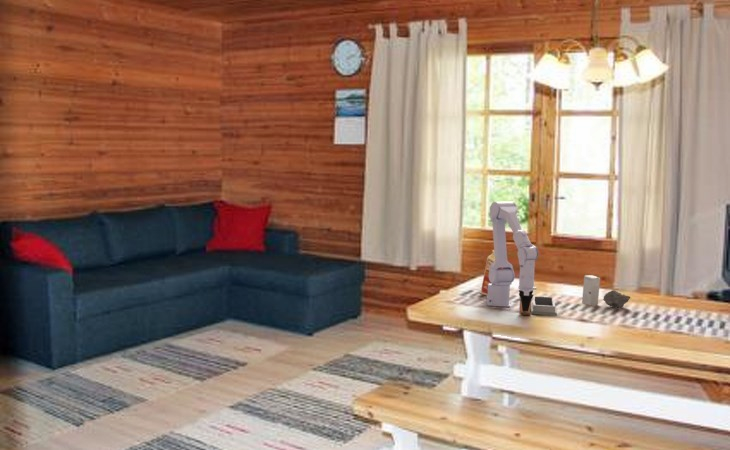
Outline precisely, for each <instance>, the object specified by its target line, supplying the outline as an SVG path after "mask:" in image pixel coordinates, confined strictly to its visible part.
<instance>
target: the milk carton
mask: <svg viewBox="0 0 730 450" xmlns="http://www.w3.org/2000/svg"><path fill="white" fill-rule="evenodd" d="M494 262H495V254H494V249H492V253H491V254H490V255H488V256H487V258H486V263H485V267H484V268H485V269H484V274H483V277H482V278H483V279H482V282H481V288H480V294H482V295H484V296H486V297H487V296H488V284H491V282H490V280H489V267H490V266H491V265H492V264H493V263H494ZM497 269H505V268H504V267H501V268H497Z"/></svg>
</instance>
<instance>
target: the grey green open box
mask: <svg viewBox="0 0 730 450" xmlns="http://www.w3.org/2000/svg"><path fill="white" fill-rule="evenodd" d="M531 315H544V316H545V315H547V316H558V313H557V308H556V303H555V301H554V300H553V297H552V296H537V295H535V296H534V299H532V304H531Z"/></svg>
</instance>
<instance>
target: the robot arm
mask: <svg viewBox="0 0 730 450" xmlns="http://www.w3.org/2000/svg"><path fill="white" fill-rule="evenodd" d="M489 216H490V217H489V218H490V222H492V237H493V238H492V240H493V250H494V254H495V262H494V263H493V264H492V265H491V266H490V267H489V280H490V282H491V284H488V296H487V295H486V301H487V304H486V306H489V307H490V306H493V307H504V308H505V307H507V308H510V307H511V302H510V295H511V294H510V290H511V285H512V283H513V282H514V280H515V277H516V275H515V274H516V273H515V271H514V267H513V264H512V263H510V262H509V260H508V253H507V252H508V251H507V237H506V236H507V235H506V223H507V224H508V227H510V229H511V231H512V233H513V236H512V241H514V244H515V247H516V248H517V250H518V251H517V253H516V254H517V255H516V256H517V258H518V265H519V276H518V277H519V278H518V279H519V280H518V289H519V290H518V295H519V299H521V302H522V310H523V311H528V310H529V306H530V302H531V300H533V298H534V297H535V296H534V290H535V291H536V290H537V286H535V285H534V284H535V267H536V260H538V259H539V258H538V257H539V250H538V247H537V246H536V245H534V244H532V242H531V240H530V238H529V236H528V233H527V231H525V230H522V226H521V224H520V221H519V218H518V206H517V204H516V202H515V201H514V200H513V201H512V200H511V201H493V202H492V203H491V205H490V207H489ZM501 267H504V268H505V269H497V268H501ZM531 303H532V302H531Z"/></svg>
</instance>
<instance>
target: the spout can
mask: <svg viewBox="0 0 730 450" xmlns="http://www.w3.org/2000/svg"><path fill="white" fill-rule="evenodd" d="M532 303H533V299H531V302H530V306H529V310H528V311H523V310H522V302H521V298H519V309H518V310H519V312H518V314H519V315H522V316H531V315H532V314H531V305H532Z"/></svg>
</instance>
